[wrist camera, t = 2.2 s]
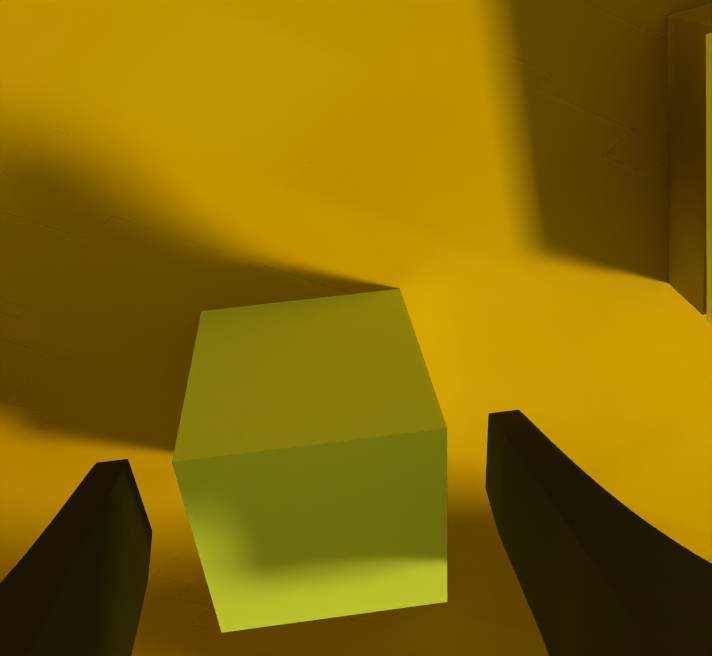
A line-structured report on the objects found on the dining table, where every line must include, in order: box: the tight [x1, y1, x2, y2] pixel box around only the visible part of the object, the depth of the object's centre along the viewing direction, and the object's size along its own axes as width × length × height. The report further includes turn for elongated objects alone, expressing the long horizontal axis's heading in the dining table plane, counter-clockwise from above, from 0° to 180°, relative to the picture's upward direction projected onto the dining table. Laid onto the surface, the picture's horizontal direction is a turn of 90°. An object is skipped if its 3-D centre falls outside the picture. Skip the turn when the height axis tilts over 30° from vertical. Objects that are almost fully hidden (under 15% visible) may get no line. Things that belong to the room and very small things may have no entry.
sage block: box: [172, 289, 447, 633], centre depth 14 cm, size 4×4×5 cm
